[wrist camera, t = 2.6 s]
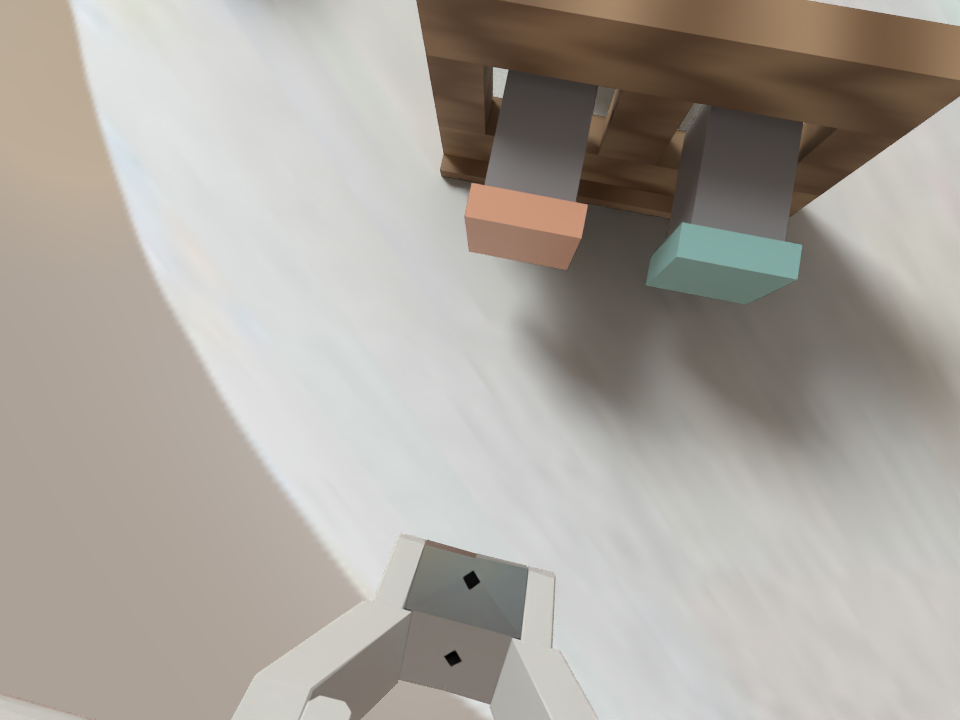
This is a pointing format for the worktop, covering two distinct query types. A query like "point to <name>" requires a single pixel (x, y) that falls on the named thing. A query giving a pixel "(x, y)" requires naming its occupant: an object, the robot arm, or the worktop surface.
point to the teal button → (731, 208)
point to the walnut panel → (690, 81)
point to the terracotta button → (534, 173)
